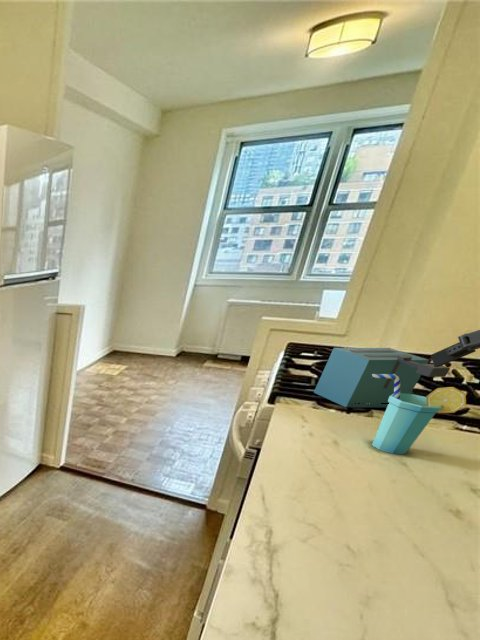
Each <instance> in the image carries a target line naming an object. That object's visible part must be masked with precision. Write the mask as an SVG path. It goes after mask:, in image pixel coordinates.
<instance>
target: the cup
mask: <svg viewBox="0 0 480 640" xmlns="http://www.w3.org/2000/svg"><path fill="white" fill-rule="evenodd" d="M371 378H392V379H393V380H394V394H392V395H391V396H390V397H389V399H388V402H389V404H388V406H387V407H386V409H385V411H384V414H383V417H382V419H381V421H380V424H379V426H378V429H377V432H376V434H375V435H374V439H373V441H372V444H371V446H373V447H374V448H375V449H377V450H379V451H382V452H386V453H388V454H392V455H406V454H407V452H408V451H409V450H410V448H411V447H412V446H413V444H414V443H415V442H416V440H417V439H418V437H419V436H420V435H421V434H422V433H423V431H424V429H425V428H426V427H427V426H428V425H429V422H430V421H431V420H432V419H433V417H434V416H435V415H436V414H454V413H456V412H458V411H459V410H460V409H462V408H463V407H465V406H466V405H467V397H466V396H467V394H466V392H463V390H460V389H459V388H456V387H454V386H447V387H437V388H436V389H434V390H433V391H431V392H430V393H429V394H427V395H426V396H423V395H419V394H413V393H411V394H404V393H400V378H399V377H398V376H397V375H395V374H372V375H371Z"/></svg>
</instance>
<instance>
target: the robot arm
mask: <svg viewBox="0 0 480 640" xmlns="http://www.w3.org/2000/svg"><path fill="white" fill-rule="evenodd" d="M457 339H458V341H459V342H457V343H455V344H452V345H450V346H447V347H446V348H443V349H441V350H439V351H436V352H434V353H432V354H430V357H431V361H432V364H434V367H439V366H445V365H446V364H449V363H451V362H454V361H456V360H458V359H461V358H464V357H466V356H469V355H471V354H473V353H475V352H477V351H476V350H480V329H478V330H474V331H471V332H468V333H464V334H462V335H459V336H457Z"/></svg>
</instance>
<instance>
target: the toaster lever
mask: <svg viewBox="0 0 480 640" xmlns="http://www.w3.org/2000/svg"><path fill="white" fill-rule="evenodd" d="M398 362H400V363H403V364H406V365H409V366H412V367H415V368H417V370H416V373H418V374H421V376H425V377H427V378H445V377H446V376H447V375H448V373H449V371H450V370H451V368H450V367H448V366H445V365H442V366H439V367H434V364H433V363H427V364H419V363H416V362H413V361H410V360H401V359H399V360H398Z"/></svg>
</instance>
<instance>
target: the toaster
mask: <svg viewBox="0 0 480 640" xmlns="http://www.w3.org/2000/svg"><path fill="white" fill-rule="evenodd" d="M399 359H401V360H410V361H413V362H416V363H419V364H429V362H430V359H427V358H424V357H421V356H418V355H415V354H411V353H408V352H404V351H402V350H397V349H394V348H391V347H333V349H332V351H331V354H330V355H329V357H328V360H327V362H326V364H325V366H324V368H323V371H322V373H321V375H320V378H319V379H318V382H317V384H316V386H315V388H314V391H313V394H316V395H318V396H320V397H322V398H324V399H326V400H329V401H330V402H333V403H335V404H338V405H340V406H342V407H344V408H387V406H388V404H381V403H389V402H388V399H389V397H390V396H391V395H392V394H394V380H393V379H392V378H371V375H372V374H395V375H397V376H398V377H399V378H400V393H404V394H412V392H413V390H414V389H415V387H416V385H417V384H418V381H419V380H420V378H421V376H422V375H421V374H418V373H416V370H417V368H415V367H412V366H409V365H406V364H403V363H400V362H398V360H399ZM355 403H356V404H355ZM358 403H360V404H358ZM362 403H363V404H362ZM366 403H368V404H366ZM369 403H370V404H369Z"/></svg>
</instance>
